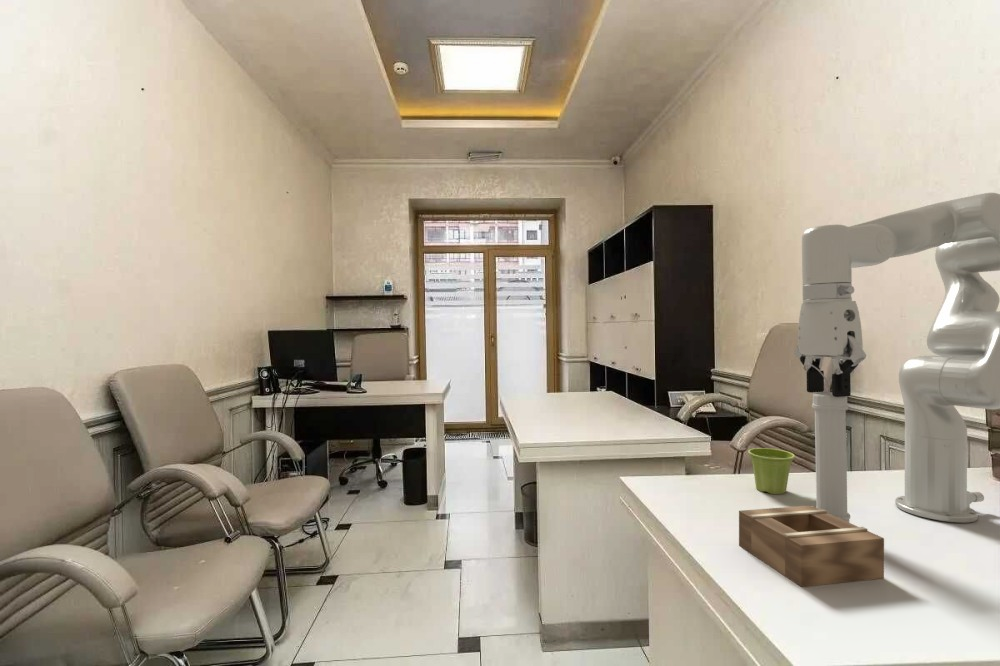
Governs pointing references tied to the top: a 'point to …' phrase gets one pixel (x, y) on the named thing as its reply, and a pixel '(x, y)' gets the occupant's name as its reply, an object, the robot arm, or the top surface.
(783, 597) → the top surface
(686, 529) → the top surface
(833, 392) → the robot arm
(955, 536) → the top surface
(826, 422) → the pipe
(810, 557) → the socket block
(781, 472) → the plant pot
